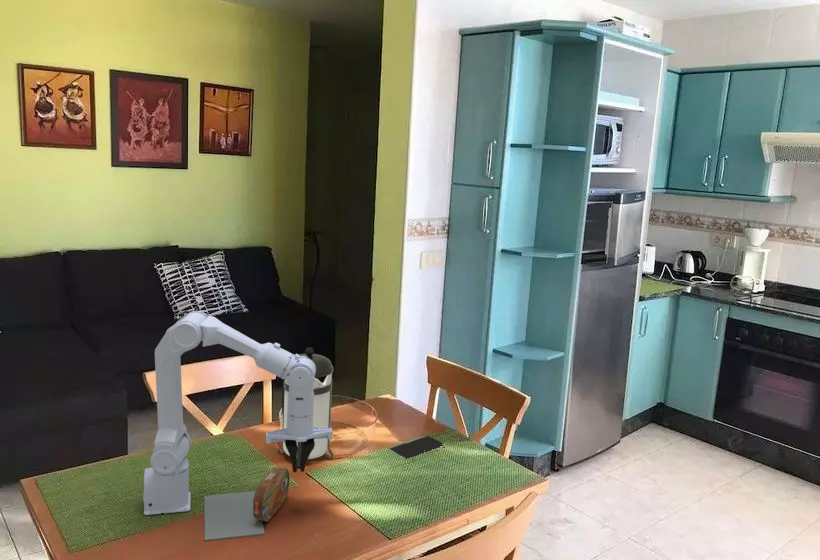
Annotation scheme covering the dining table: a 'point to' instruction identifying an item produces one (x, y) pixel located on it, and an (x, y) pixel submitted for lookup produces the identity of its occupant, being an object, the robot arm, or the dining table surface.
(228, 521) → the mat
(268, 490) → the tin
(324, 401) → the coffee press
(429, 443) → the smartphone
